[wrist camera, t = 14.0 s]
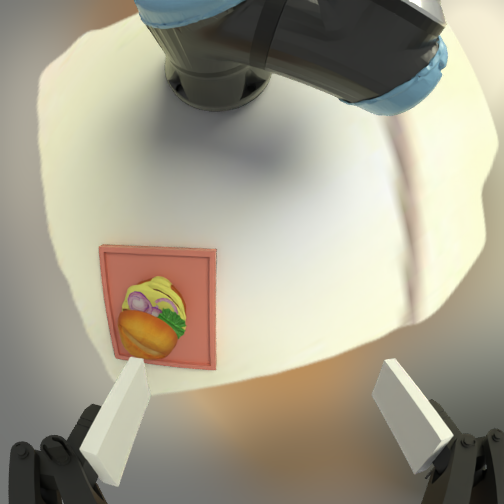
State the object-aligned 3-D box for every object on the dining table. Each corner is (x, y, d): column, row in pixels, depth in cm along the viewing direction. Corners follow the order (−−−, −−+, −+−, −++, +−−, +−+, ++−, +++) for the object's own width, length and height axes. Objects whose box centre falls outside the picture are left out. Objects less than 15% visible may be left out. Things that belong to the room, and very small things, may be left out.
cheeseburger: (199, 283, 39) (183, 331, 30) (187, 333, 43) (173, 380, 34) (134, 263, 37) (104, 304, 29) (131, 315, 42) (108, 357, 33)
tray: (103, 244, 38) (98, 246, 36) (216, 249, 39) (215, 251, 37) (118, 353, 42) (115, 358, 41) (216, 364, 43) (215, 370, 42)
